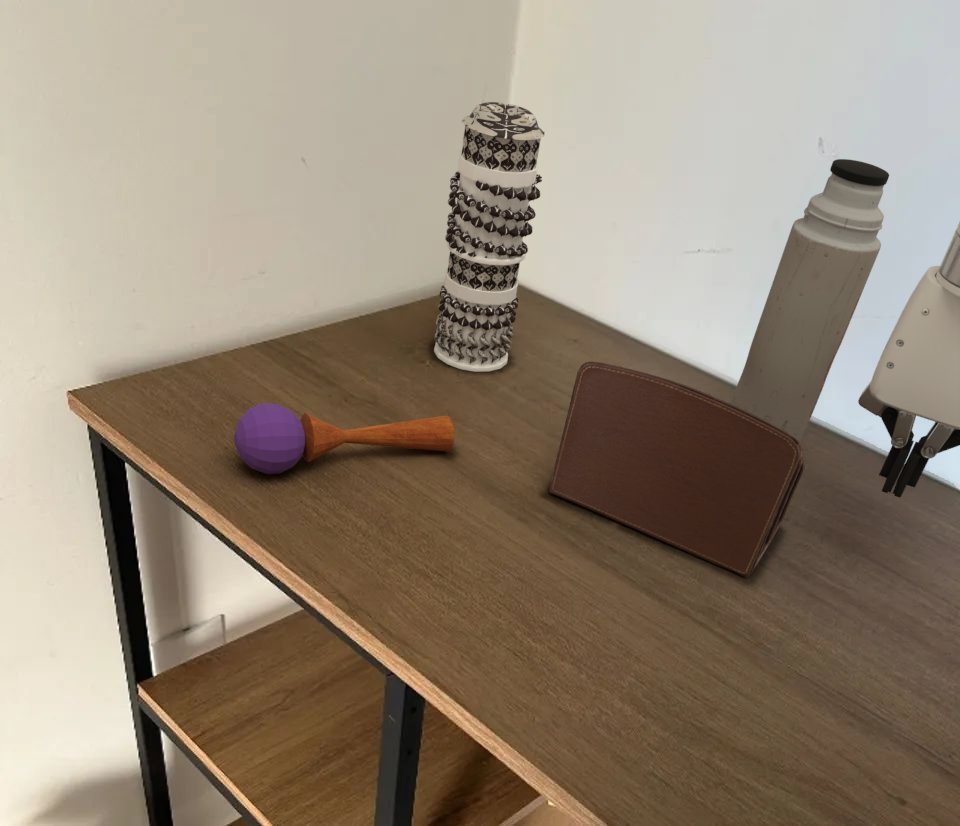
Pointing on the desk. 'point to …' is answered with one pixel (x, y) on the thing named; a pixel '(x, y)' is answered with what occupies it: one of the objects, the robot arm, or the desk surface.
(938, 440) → the robot arm
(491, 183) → the white patterned cylinder
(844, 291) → the thermos bottle
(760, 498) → the letter holder
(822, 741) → the desk surface
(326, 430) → the kendama
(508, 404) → the desk surface
